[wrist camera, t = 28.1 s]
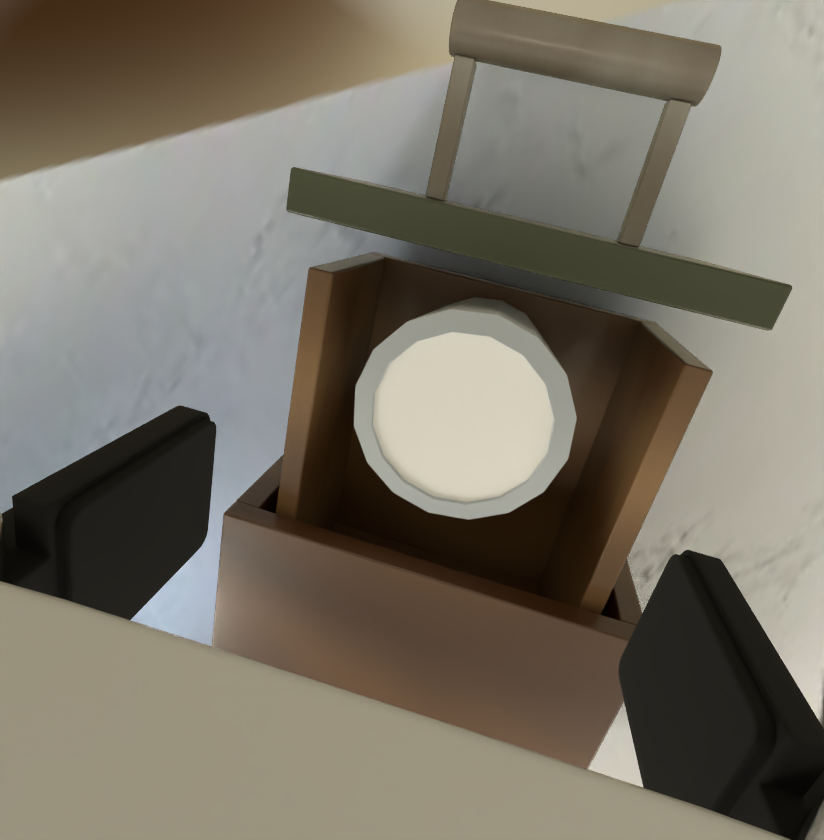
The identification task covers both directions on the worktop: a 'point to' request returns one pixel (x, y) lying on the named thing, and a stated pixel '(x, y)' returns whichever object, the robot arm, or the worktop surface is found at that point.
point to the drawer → (553, 317)
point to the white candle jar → (465, 410)
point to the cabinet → (420, 631)
